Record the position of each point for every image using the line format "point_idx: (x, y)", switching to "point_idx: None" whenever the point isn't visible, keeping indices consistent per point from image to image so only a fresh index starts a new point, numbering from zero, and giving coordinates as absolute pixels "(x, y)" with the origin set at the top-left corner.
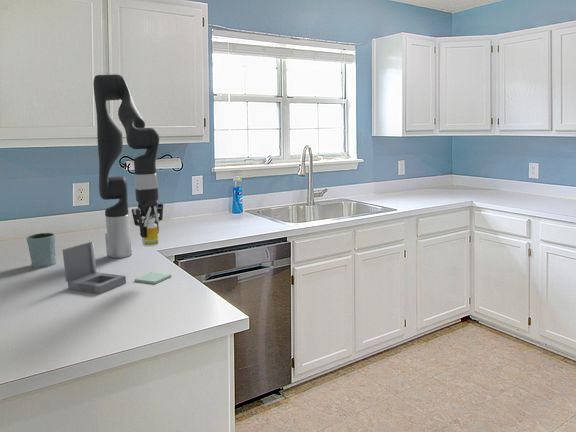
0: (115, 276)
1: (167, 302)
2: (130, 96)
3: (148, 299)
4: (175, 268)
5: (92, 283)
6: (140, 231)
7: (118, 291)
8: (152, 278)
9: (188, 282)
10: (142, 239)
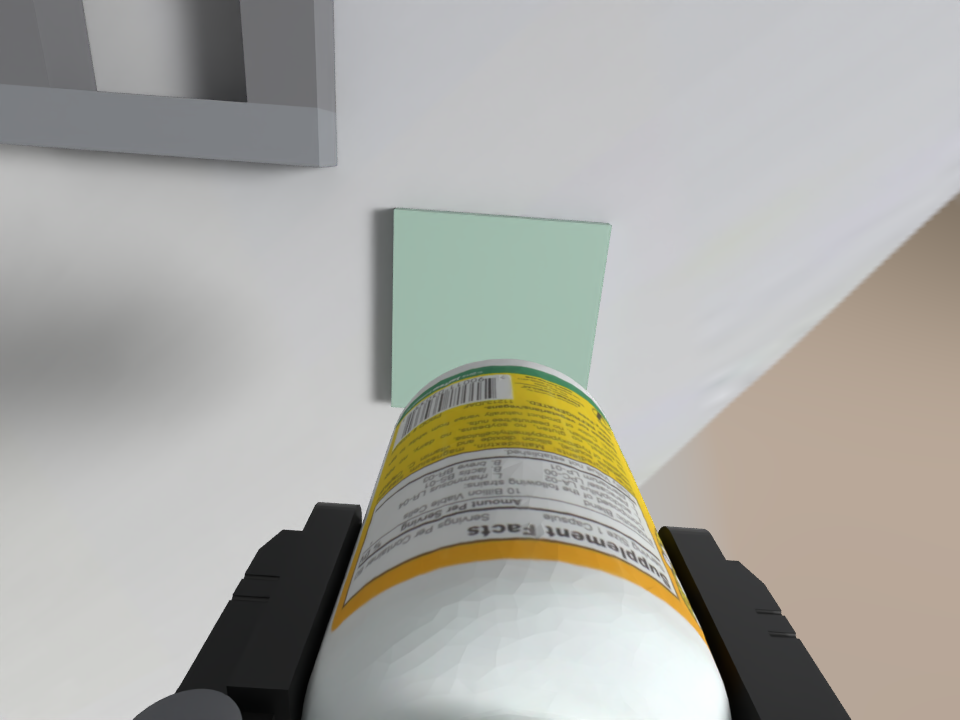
0: (268, 75)
1: (162, 621)
2: None
3: (145, 517)
4: (799, 323)
5: (4, 3)
6: (229, 611)
7: (157, 247)
8: (453, 343)
9: None
10: (397, 442)
